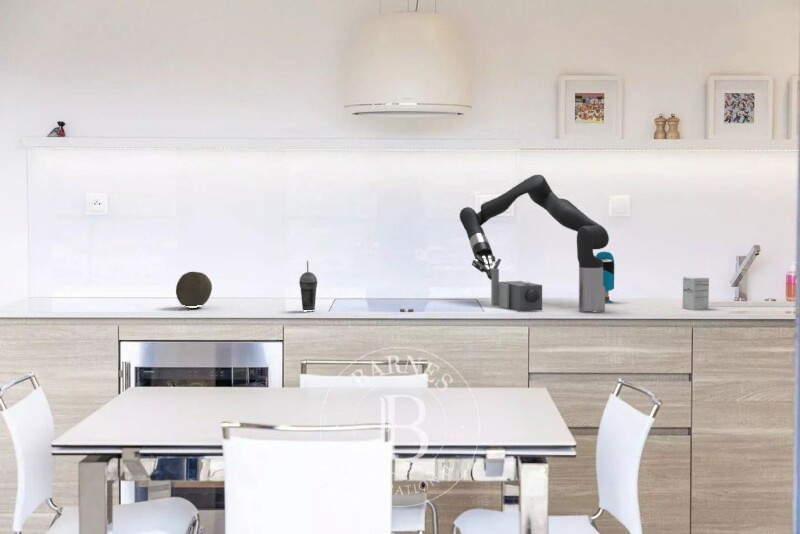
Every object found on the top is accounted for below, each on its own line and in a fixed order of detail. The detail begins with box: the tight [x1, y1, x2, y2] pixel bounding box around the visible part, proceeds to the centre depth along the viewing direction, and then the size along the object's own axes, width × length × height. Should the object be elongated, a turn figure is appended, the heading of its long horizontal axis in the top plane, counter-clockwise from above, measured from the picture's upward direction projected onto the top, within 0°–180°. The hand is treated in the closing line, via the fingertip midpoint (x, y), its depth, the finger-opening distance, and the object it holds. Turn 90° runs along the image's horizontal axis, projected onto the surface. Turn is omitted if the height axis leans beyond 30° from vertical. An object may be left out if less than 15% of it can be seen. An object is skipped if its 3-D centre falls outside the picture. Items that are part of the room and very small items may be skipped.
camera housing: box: [499, 280, 543, 312], centre depth 411 cm, size 22×10×11 cm, turn 18°
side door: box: [490, 268, 509, 310], centre depth 414 cm, size 10×3×15 cm, turn 18°
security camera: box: [595, 251, 615, 304], centre depth 431 cm, size 8×21×10 cm
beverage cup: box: [298, 260, 318, 311], centre depth 405 cm, size 7×7×20 cm
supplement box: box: [682, 275, 710, 311], centre depth 407 cm, size 7×7×13 cm
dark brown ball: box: [175, 271, 213, 307], centre depth 418 cm, size 14×14×15 cm
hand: (492, 278), depth 418 cm, fingers closed
